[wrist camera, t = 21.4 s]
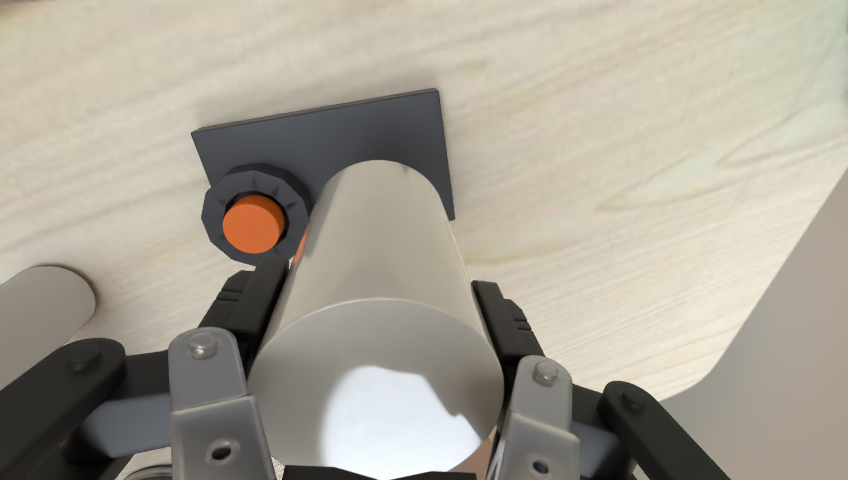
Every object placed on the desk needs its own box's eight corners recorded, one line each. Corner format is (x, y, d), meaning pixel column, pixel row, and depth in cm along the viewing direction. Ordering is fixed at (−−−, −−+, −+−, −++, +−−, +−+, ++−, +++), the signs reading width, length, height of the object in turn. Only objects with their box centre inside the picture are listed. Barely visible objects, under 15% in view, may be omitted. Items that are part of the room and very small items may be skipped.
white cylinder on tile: (432, 287, 20) (473, 495, 11) (308, 273, 19) (243, 487, 10) (457, 170, 18) (535, 313, 9) (317, 149, 17) (245, 283, 8)
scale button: (241, 246, 26) (233, 258, 24) (223, 199, 25) (214, 209, 23) (291, 237, 26) (286, 248, 24) (276, 190, 25) (269, 199, 23)
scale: (238, 251, 29) (223, 274, 26) (191, 129, 25) (168, 140, 23) (452, 214, 29) (459, 232, 26) (435, 87, 25) (442, 93, 23)
